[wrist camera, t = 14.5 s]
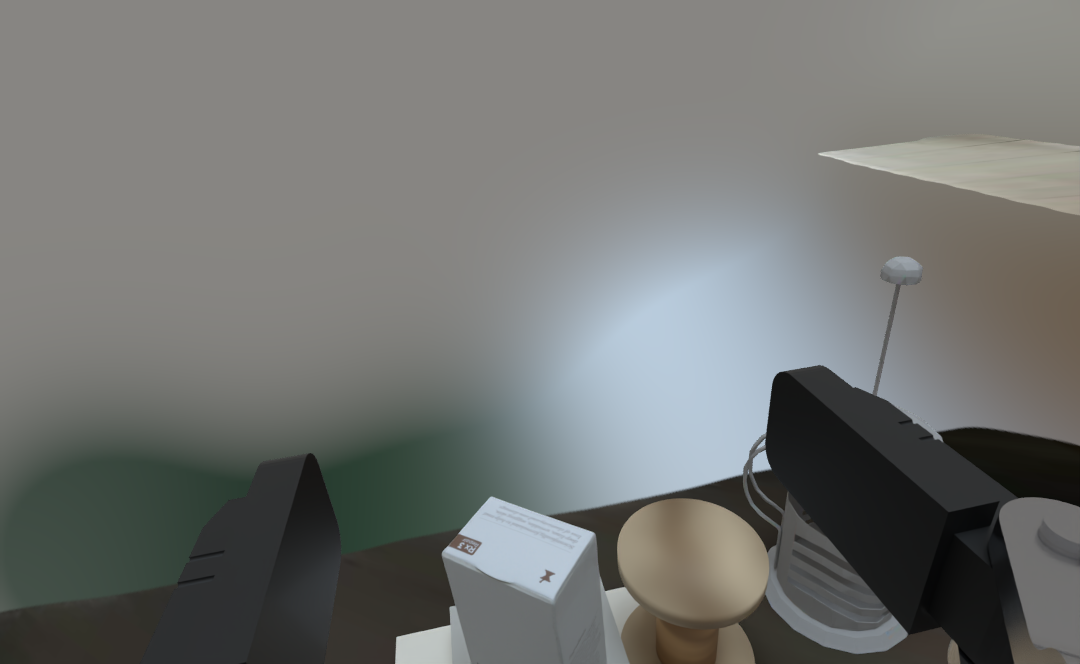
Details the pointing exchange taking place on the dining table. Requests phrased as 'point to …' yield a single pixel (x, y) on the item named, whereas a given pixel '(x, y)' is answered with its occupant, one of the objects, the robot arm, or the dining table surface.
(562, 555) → the skincare box
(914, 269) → the french press
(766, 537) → the dining table surface
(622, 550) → the bobbin
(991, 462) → the dining table surface
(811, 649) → the dining table surface
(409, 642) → the notched board
